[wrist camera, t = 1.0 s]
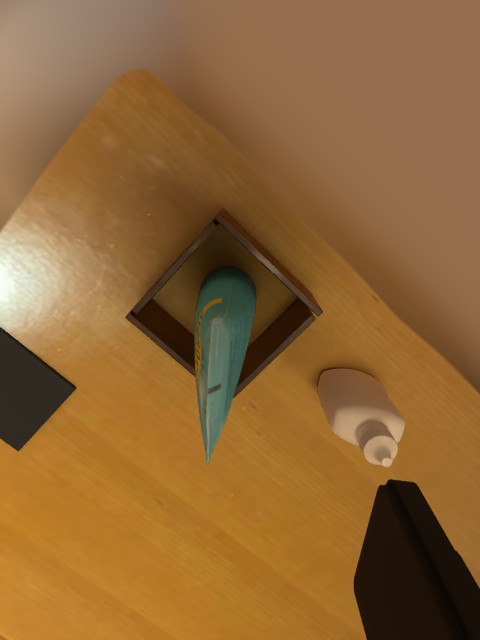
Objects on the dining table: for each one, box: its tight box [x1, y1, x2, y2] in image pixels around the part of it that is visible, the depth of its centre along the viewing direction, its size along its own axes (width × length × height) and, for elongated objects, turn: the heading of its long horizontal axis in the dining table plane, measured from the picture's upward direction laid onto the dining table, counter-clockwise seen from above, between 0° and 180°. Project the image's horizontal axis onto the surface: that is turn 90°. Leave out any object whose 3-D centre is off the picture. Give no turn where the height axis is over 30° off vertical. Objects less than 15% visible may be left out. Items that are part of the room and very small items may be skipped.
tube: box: [194, 267, 256, 465], centre depth 30 cm, size 8×5×19 cm, turn 2°
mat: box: [0, 328, 76, 451], centre depth 42 cm, size 9×9×1 cm
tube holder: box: [125, 209, 323, 398], centre depth 37 cm, size 10×10×6 cm
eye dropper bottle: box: [317, 368, 405, 467], centre depth 36 cm, size 4×6×12 cm
